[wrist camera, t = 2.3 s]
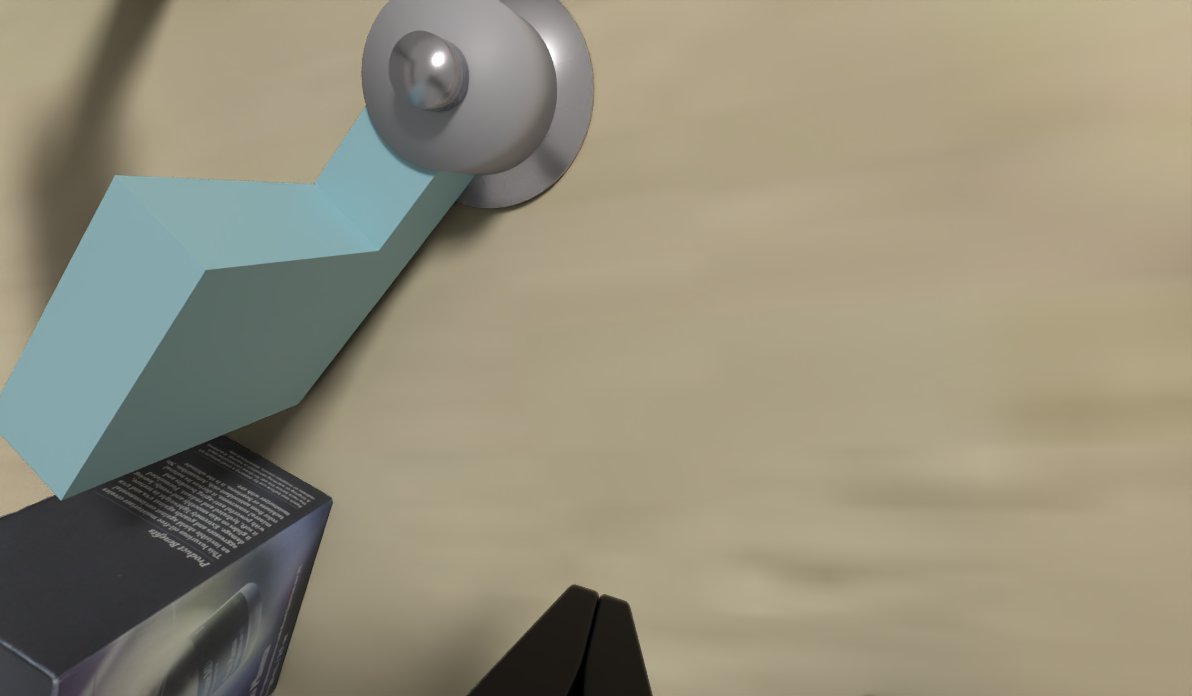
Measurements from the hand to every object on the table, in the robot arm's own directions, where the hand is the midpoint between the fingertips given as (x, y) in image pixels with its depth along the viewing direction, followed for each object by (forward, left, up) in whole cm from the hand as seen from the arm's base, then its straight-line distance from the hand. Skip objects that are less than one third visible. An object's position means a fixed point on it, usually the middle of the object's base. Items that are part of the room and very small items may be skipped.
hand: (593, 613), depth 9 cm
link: (+4, +11, -11) cm, 16 cm away
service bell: (+8, +8, -12) cm, 16 cm away
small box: (-11, +17, -12) cm, 24 cm away
